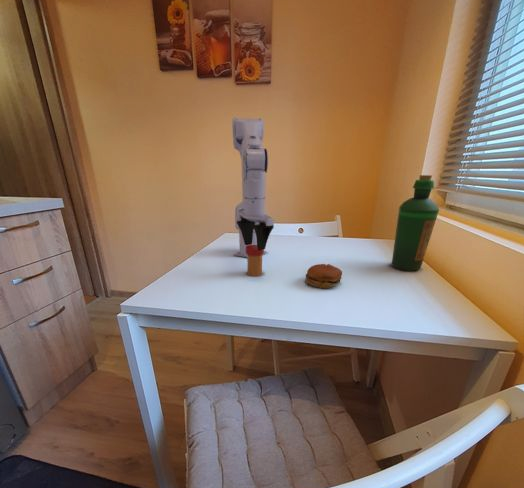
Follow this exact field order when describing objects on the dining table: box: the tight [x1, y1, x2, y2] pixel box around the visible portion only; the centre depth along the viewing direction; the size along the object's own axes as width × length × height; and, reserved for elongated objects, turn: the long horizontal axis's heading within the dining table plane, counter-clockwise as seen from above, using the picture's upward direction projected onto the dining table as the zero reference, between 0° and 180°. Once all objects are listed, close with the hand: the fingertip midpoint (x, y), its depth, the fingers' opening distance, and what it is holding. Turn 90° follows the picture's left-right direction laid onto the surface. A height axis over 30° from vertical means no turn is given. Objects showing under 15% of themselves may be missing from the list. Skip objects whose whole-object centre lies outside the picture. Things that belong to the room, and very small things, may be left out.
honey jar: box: [246, 254, 263, 277], centre depth 82 cm, size 4×4×8 cm
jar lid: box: [246, 245, 265, 256], centre depth 81 cm, size 5×5×2 cm
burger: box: [305, 263, 343, 289], centre depth 77 cm, size 10×9×5 cm
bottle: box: [391, 174, 440, 272], centre depth 85 cm, size 11×11×28 cm
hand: (254, 246), depth 81 cm, fingers open, 6 cm apart
